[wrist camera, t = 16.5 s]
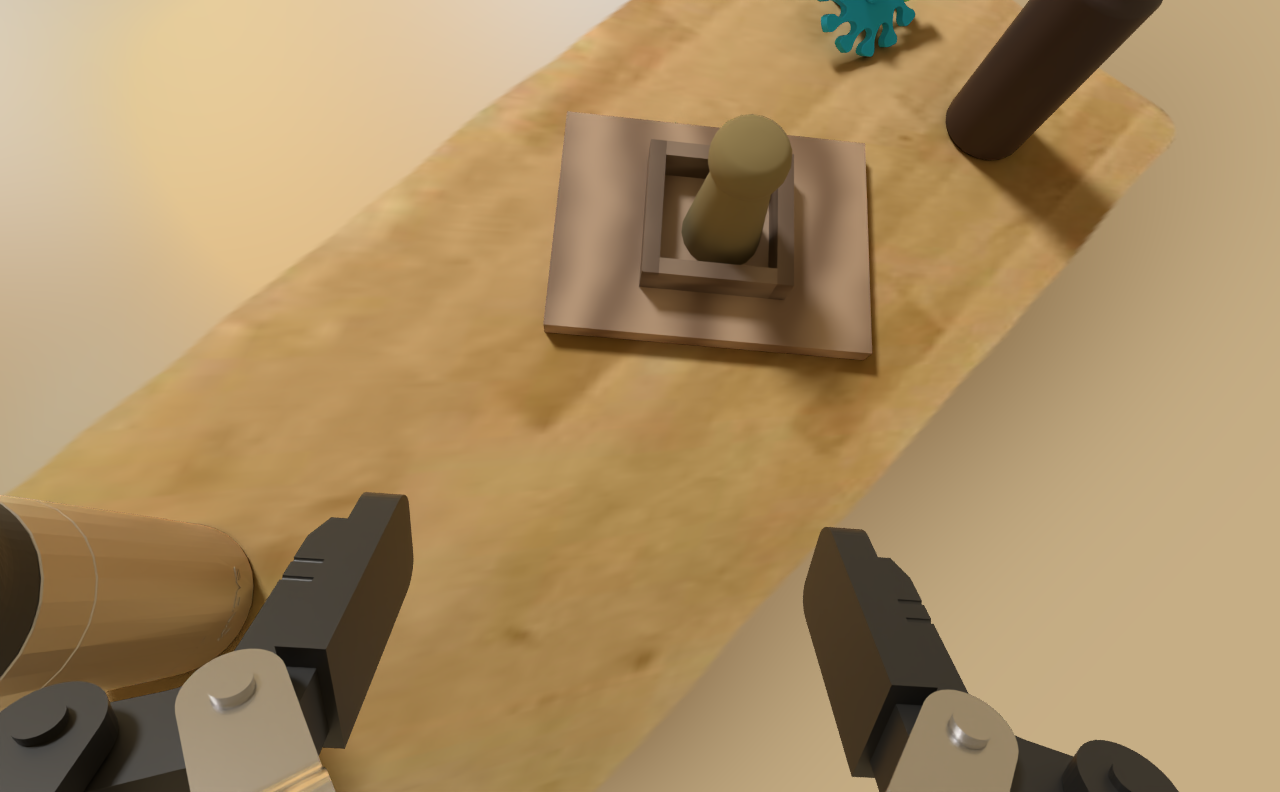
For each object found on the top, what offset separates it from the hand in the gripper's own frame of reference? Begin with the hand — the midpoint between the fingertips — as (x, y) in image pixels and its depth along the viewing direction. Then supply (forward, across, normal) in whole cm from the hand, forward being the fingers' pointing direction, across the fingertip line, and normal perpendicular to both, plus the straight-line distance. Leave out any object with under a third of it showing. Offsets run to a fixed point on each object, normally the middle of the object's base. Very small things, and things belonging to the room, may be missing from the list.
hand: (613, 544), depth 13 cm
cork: (+40, -8, +4) cm, 41 cm away
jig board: (+41, -7, +5) cm, 42 cm away
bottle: (+51, -30, -4) cm, 59 cm away
